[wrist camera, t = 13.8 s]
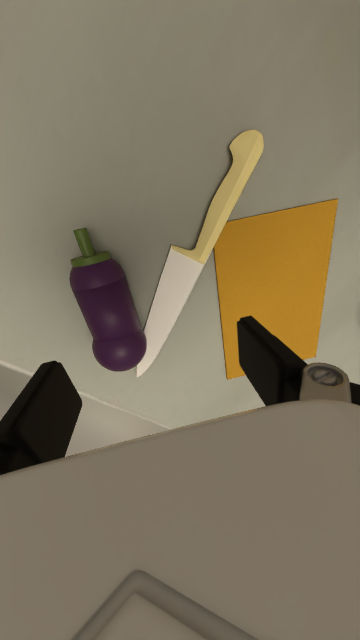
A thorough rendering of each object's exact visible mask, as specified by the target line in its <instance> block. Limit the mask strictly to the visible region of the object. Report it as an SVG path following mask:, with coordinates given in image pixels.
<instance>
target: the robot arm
mask: <svg viewBox="0 0 360 640" xmlns="http://www.w3.org/2000/svg"><path fill="white" fill-rule="evenodd" d="M237 337H238V354H239V364H240V366H241V368H242V370H243V371H244V373H245V374H246V376H247V378H248V379H249V381H250V382H251V384H252V385H253V387H254V388H255V390H256V391H257V393H258V395H259V396H260V398H261V399H262V401H263V402H264V404H265V405H266V406H265V407H261V408H257V409H252V410H248V411H244V412H240V413H235V414H231V415H227V416H223V417H219V418H215V419H211V420H207V421H203V422H199V423H195V424H191V425H187V426H183V427H179V428H176V429H172V430H168V431H164V432H160V433H156V434H152V435H148V436H144V437H140V438H136V439H133V440H129V441H125V442H121V443H117V444H113V445H109V446H106V447H102V448H98V449H94V450H91V451H87V452H83V453H79V454H76V455H71V456H68V457H65V454H66V451H67V448H68V445H69V442H70V439H71V436H72V433H73V431H74V427H75V425H76V422H77V419H78V416H79V413H80V410H81V407H82V400H81V398H80V396H79V394H78V392H77V390H76V389H75V387H74V385H73V383H72V382H71V380H70V378H69V376H68V374H67V373H66V371H65V369H64V367H63V365H62V364H61V363H58V362H57V361H51V362H47V363H43V364H41V366H40V367H39V368H38V370H37V371H36V373H35V374H34V375H33V377H32V378H31V379H30V381H29V382H28V384H27V385H26V386H25V388H24V389H23V391H22V392H21V393H20V395H19V396H18V398H17V399H16V400H15V402H14V403H13V404H12V406H11V407H10V409H9V410H8V411H7V413H6V414H5V415H4V417H3V418H2V420H1V421H0V640H360V385H359V384H355V383H351V382H349V378H348V376H347V374H346V373H345V372H344V371H342V370H341V369H339V368H338V367H335V366H333V365H330V364H326V363H311V364H307V363H305V362H304V361H303V360H302V359H301V358H300V357H299V356H298V355H296V354H295V353H294V352H293V351H292V350H291V349H290V348H289V347H287V346H286V345H285V344H284V343H283V342H282V341H281V340H280V339H278V338H277V337H276V336H275V335H273V334H271V333H270V332H269V331H268V330H267V329H266V328H265V327H264V326H263V325H261V324H260V323H259V322H258V321H257V320H256V319H255V318H254V317H253V316H251V315H250V316H246V317H242V318H240V321H237Z"/></svg>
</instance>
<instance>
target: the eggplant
mask: <svg viewBox="0 0 360 640" xmlns="http://www.w3.org/2000/svg"><path fill="white" fill-rule="evenodd" d="M73 232H74V234H75V237H76V239H77V242H78V245H79V247H80V250H81V253H82V255H83V256H80V257H77V258H74V259H71V263H72V266H73V267H72V270H71V272H70V285H71V288H72V291H73V293H74V295H75V297H76V300H77V302H78V304H79V307H80V309H81V311H82V314H83V316H84V318H85V321H86V323H87V325H88V327H89V330H90V332H91V334H92V337H93V343H92V349H93V353H94V356H95V358H96V360H97V361H98V362H99V364H101V365H102V366H103V367H105V368H106V369H109V370H111V371H126V370H129V369H131V368H133V367H135V366H136V365H137V364H139V363H140V361H141V360H142V359H143V357H144V355H145V353H146V349H147V339H146V336H145V333H144V331H143V330H142V328H141V326H140V323H139V319H138V316H137V313H136V309H135V306H134V303H133V299H132V296H131V293H130V290H129V286H128V283H127V280H126V276H125V274H124V271H123V269H122V268H121V266H120V265H119V264H118V263H117V262H116V261H115V260H114V259H112V258H111V257H110V254H109V252H108V251H103V252H97V253H95V252H94V249H93V246H92V243H91V240H90V238H89V235H88V232H87V229H86V228H82V229H77V230H74V231H73Z"/></svg>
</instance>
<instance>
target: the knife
mask: <svg viewBox="0 0 360 640" xmlns="http://www.w3.org/2000/svg"><path fill="white" fill-rule="evenodd" d="M229 148H230V150H231V153H232V155H233V164H232V166H231V168H230V170H229V172H228V174H227V175H226V177H225V178H224V180H223V182H222V183H221V185H220V187H219V189H218V191H217V193H216V194H215V196H214V198H213V200H212V202H211V205H210V207H209V210H208V213H207V216H206V219H205V222H204V225H203V228H202V231H201V234H200V236H199V239H198V242H197V245H196V248H195V249H193V250H190V251H189V250H186V249H183V248H180V247H177V246H174V245H171V248H170V252H169V255H168V258H167V260H166V263H165V266H164V269H163V272H162V275H161V278H160V281H159V284H158V287H157V291H156V294H155V297H154V300H153V303H152V307H151V310H150V313H149V316H148V320H147V323H146V326H145V329H144V333H145V336H146V339H147V349H146V353H145V355H144V357H143V359H142V360H141V361H140V363H139V364H137V377H139V376H140V375H141V374H142V373H144V372H145V371H146V370H147V369H148V368H149V366H150V365H151V364H152V363H153V361H154V360H155V358H156V357H157V355H158V353H159V351H160V350H161V348H162V346H163V344H164V343H165V341H166V339H167V337H168V335H169V333H170V331H171V330H172V328H173V326H174V324H175V322H176V320H177V318H178V316H179V314H180V312H181V310H182V308H183V306H184V304H185V302H186V300H187V298H188V296H189V294H190V293H191V291H192V289H193V287H194V285H195V283H196V281H197V279H198V277H199V275H200V273H201V271H202V269H203V267H204V265H205V263H206V261H207V259H208V257H209V255H210V253H211V252H212V249H213V247H214V245H215V243H216V241H217V239H218V237H219V235H220V233H221V231H222V229H223V227H224V225H225V224H226V222H227V220H228V218H229V216H230V214H231V212H232V210H233V208H234V206H235V204H236V202H237V200H238V198H239V196H240V194H241V192H242V190H243V188H244V187H245V185H246V183H247V181H248V179H249V177H250V175H251V173H252V171H253V169H254V167H255V166H256V164H257V162H258V160H259V158H260V156H261V154H262V152H263V148H264V142H263V136H262V134H261V133H260V132H258V131H256V130H249V131H245V132H243V133H241V134H240V135H239V136H237V137H236V138H235V139H234V140H233V141H232V143H231V145H230V146H229Z"/></svg>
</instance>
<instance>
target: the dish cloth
mask: <svg viewBox="0 0 360 640" xmlns="http://www.w3.org/2000/svg"><path fill="white" fill-rule="evenodd" d="M337 203H338V199H334V200H329V201H324V202H319V203H314V204H310V205H305V206H300V207H295V208H290V209H286V210H281V211H276V212H271V213H266V214H262V215H257V216H252V217H247V218H242V219H237V220H233V221H228V222H226V224H225V225H224V227H223V229H222V231H221V233H220V235H219V237H218V239H217V241H216V243H215V245H214V257H215V267H216V276H217V286H218V296H219V306H220V316H221V325H222V335H223V345H224V355H225V364H226V374H227V380H228V379H232V378H236V377H239V376H243V375H246V374H245V373H244V371H243V370H242V368H241V366H240V364H239V354H238V337H237V321H240V318H242V317H246V316H250V315H251V316H253V317H254V318H255V319H256V320H257V321H258V322H259V323H260V324H261V325H263V326H264V327H265V328H266V329H267V330H268V331H269V332H270V333H271V334H273V335H275V336H276V337H277V338H278V339H280V340H281V341H282V342H283V343H284V344H285V345H286V346H287V347H289V348H290V349H291V350H292V351H293V352H294V353H295V354H296V355H298V356H299V357H300V358H301V359H302V360H304V359H308V358H312V357H316V351H317V344H318V337H319V330H320V322H321V315H322V308H323V301H324V294H325V287H326V280H327V273H328V266H329V259H330V252H331V245H332V238H333V231H334V224H335V217H336V210H337Z"/></svg>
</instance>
